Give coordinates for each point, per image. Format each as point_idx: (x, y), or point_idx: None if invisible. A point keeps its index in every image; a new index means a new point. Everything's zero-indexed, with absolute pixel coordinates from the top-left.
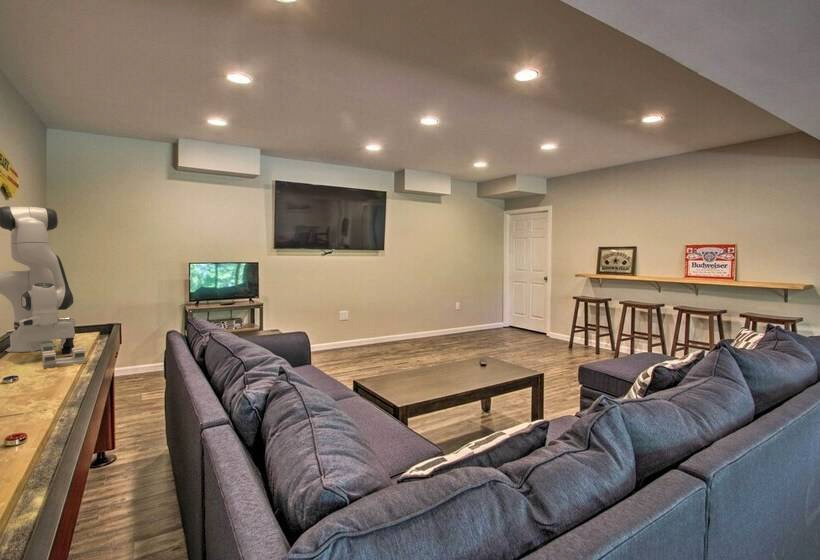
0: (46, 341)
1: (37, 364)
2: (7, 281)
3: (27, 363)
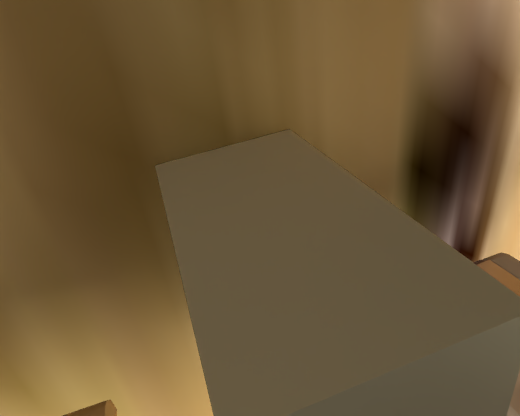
0: (380, 406)
1: (186, 410)
2: None
3: (50, 357)
